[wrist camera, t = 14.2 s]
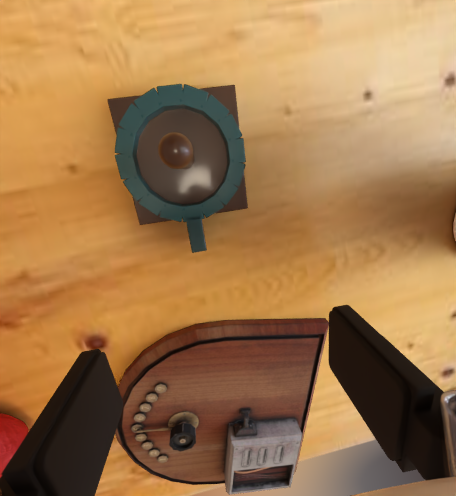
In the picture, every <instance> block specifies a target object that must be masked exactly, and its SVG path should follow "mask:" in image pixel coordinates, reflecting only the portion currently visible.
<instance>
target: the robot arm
mask: <svg viewBox="0 0 456 496" xmlns="http://www.w3.org/2000/svg"><path fill="white" fill-rule="evenodd" d="M453 232H454V238H455V241H456V213H455V218H454V223H453ZM329 365H330V368H331V370H332V372H333V373H334V375H335V376H336V378H337V379H338V381H339V383H340V384H341V386H342V387H343V389H344V390H345V392H346V393H347V395H348V396H349V398H350V400H351V401H352V403H353V404H354V406H355V407H356V409H357V410H358V412H359V413H360V415H361V417H362V418H363V420H364V421H365V423H366V424H367V426H368V427H369V429H370V430H371V432H372V434H373V435H374V437H375V438H376V440H377V441H378V443H379V444H380V446H381V447H382V449H383V450H384V452H385V454H386V455H387V456H388V458H389V459H390V460H392V461H396V463H397V464H398V466H399V467H400V469H401V470H402V472H406V471H411V470H416V469H417V470H418V472H419V473H420V474H421V476H422V477H423V478H424V479H425V480H426V481H421V482H416V483H410V484H405V485H400V486H395V487H390V488H385V489H379V490H375V491H370V492H365V493H360V494H356V495H351V496H456V390H449V391H446V392H443V391H442V390H441V389H440V388H439V387H438V386H437V385H436V384H434V383H433V382H432V381H431V380H430V379H429V378H428V377H427V376H426V375H425V374H424V373H422V372H421V371H420V370H419V369H418V368H417V367H416V366H415V365H414V364H413V363H412V362H411V361H409V360H408V359H407V358H406V357H405V356H404V355H403V354H402V353H401V352H400V351H399V350H397V349H396V348H395V347H394V346H393V345H392V344H391V343H390V342H389V341H388V340H387V339H385V338H384V337H383V336H382V335H380V334H379V333H378V332H377V331H376V330H375V329H374V328H373V327H372V326H371V325H370V324H368V323H367V322H366V321H365V320H364V319H363V318H362V317H361V316H360V315H359V314H358V313H357V312H355V311H354V310H353V309H352V308H351V307H350V306H349V305H343V306H338V307H334V308H333V309H332V311H330V313H329ZM122 410H123V400H122V397H121V395H120V392H119V389H118V387H117V384H116V381H115V379H114V376H113V373H112V370H111V368H110V365H109V362H108V360H107V357H106V354H105V353H104V352H101V351H100V350H99V349H95V350H90V351H84V352H82V353H81V354H80V355H79V357H78V358H77V360H76V361H75V363H74V364H73V366H72V367H71V369H70V370H69V372H68V373H67V375H66V376H65V378H64V379H63V381H62V382H61V384H60V385H59V387H58V388H57V390H56V391H55V393H54V394H53V396H52V397H51V399H50V401H49V402H48V404H47V405H46V407H45V408H44V410H43V411H42V413H41V414H40V416H39V417H38V419H37V420H36V422H35V423H34V425H33V426H32V428H31V429H30V431H29V432H28V434H27V435H26V437H25V438H24V440H23V441H22V443H21V444H20V446H19V448H18V449H17V451H16V452H15V454H14V455H13V457H12V458H11V460H10V461H9V463H8V464H7V466H6V467H5V469H4V470H3V472H2V473H1V474H2V476H1V478H0V496H95V493H96V490H97V487H98V484H99V481H100V477H101V474H102V471H103V468H104V465H105V462H106V459H107V456H108V453H109V450H110V447H111V444H112V441H113V438H114V435H115V432H116V429H117V426H118V423H119V420H120V417H121V414H122Z"/></svg>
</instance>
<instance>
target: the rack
mask: <svg viewBox="0 0 456 496" xmlns="http://www.w3.org/2000/svg"><path fill="white" fill-rule="evenodd" d="M200 90H203V91H206V92H208V97H209V96H210V95H213V96H214V97H215V98H216V99H217V100H218V101H219V102H220V103H221V104H222V105H224V106H225V107H226V108H227V109H228V110H229V113H228V115H229V114H232V115H233V117H234V119H235V122H236V124H237V126H238V128H239V121H238V111H237V102H236V93H235V85H229V86H220V87H211V88H202V89H200ZM141 96H142V95H141ZM139 97H140V96H132V97H124V98H115V99H108V104H109V108H110V112H111V115H112V119H113V123H114V127H115V131H116V135H117V129H118V127H119V128H122V127H121V126H120V125H119V123H120V121H121V119H122V118H123V116H124V114H125V113H126V111H127V109H128V108H129V106H130V104H131V103H132V104H133V105H135V103H134V100H136V99H137V98H139ZM207 99H208V98H207ZM135 106H136V105H135ZM136 107H137V106H136ZM228 115H227V116H228ZM122 129H124V128H122ZM239 139H240V138H239ZM136 156H137V160H138V164H139V169H140V173H141V176H142V177H143V178H144V180H145V181H146V183H147V184H148V186H149V187H150V189H151V190H152V191H154V192H155V193H156V194H158V195H159V196H161V197H162V198H164V199H165V200H167V201H171V202H175V203H179V204H190V203H197V202H200V201H202V200H204V199H205V198H207V197H209V196H210V195H212V194H214V192H215V191H216V190H217V188H218V187H219V185H220V184H221V183H222V181H223V180H224V176H225V172H226V168H227V164H228V159H227V151H226V144H225V142H224V140H223V138H222V136H221V134H220V133H219V131H218V129H217V127H216V126H215V125H214V124H212V123H211V122H210V121H209V120H208V119H207V118H206V117H204V116H203V115H202V114H199V113H196V112H193V111H190V110H186V109H176V110H167V111H164V112H162V113H161V114H159V115H158V116H156V117H154V118H153V119H151V120H150V121H149V122H148V124H147V125H146V127H145V129H144V130H143V132H142V133H141V135H140V137H139V141H138V148H137V155H136ZM242 164H243V163H242ZM235 186H236V185H235ZM236 187H238V190H237V191H236V193H235V194H234V195H233V197H232V198H231V199H230V201H229V202H228V203H227V205H224V204H223V203H222V202H221V203H222V204H223V206H224V207H223V208H222V209H220V210H219V211H217V212H215V213H220V212H227V211H233V210H240V209H246V208H248V206H247V196H246V187H245V178H244V172H243V176H242V180H241V183H240V186H236ZM133 200H134V204H135V208H136V212H137V215H138V219H139V223H140V225H143V224H150V223H156V222H163V221H169V220H170V219H166V218H162V217H160V214H159V215H158V216H157V215H155V214H154V213H152V212H151V211H149V210H148V209H146V208H145V207H143V206H142V205H140V204H139V201H140V200H141V199H140V200H138V201H136V200H135V199H134V197H133ZM160 213H161V212H160Z"/></svg>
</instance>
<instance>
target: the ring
mask: <svg viewBox="0 0 456 496" xmlns="http://www.w3.org/2000/svg"><path fill="white" fill-rule="evenodd" d="M157 91H158V93H157ZM157 91H156V90H155V88H153V89H151V90H150V91H148V92H147V93H145V94H144V95H142V96H140V97H139V98H137V99H136V100H134V103H135V105H136V106H137V107H136V106H135V105H133V104H132V103H131V104H130V106H129V108H128V109H127V111H126V113H125V114H124V116H123V118H122V119H121V121H120V123H119V125H120V126H121V127H122V128H124V129H122V128H119V127H118V129H117V137H116V145H115V153H119V154H118V155H115V158H116V162H117V166H118V169H119V173H120V177H121V179H126V180H124V181H123V183H124V185H125V186H126V187H127V189H128V190H129V192H130V193H131V194H132V196H133V197H134V199H135V200H136V201H138V200H140V199H141V200H140V201H139V204H140V205H142V206H143V207H145V208H146V209H148V210H149V211H151V212H152V213H154V214H155V215H157V216H158V215H159V214H160V217H162V218H166V219H170V220H175V221H179V222H181V221H182V218H183V222H186V223H187V228H188V233H189V239H190V244H191V249H192V253H194V252H200V251H206V250H207V249H206V242H205V236H204V230H203V225H202V219H204V215H205V217H206V218H207V217H209V216H210V215H212V214H214V213H215V212H217V211H219V210H220V209H222V208H223V207H224V206H223V204H224V205H227V203H228V202H229V201H230V199H231V198H232V197H233V195H234V194H235V193H236V191H237V190H238V187H236V186H240V183H241V180H242V176H243V172H244V169H245V164H242V163H243V162H246V160H245V150H244V140H243V138H241V139H239V138H240V137H241V136H242V134H241V132H240V130H239V128H238V126H237V124H236V122H235V119H234V117H233V115H232V114H229V115H228V113H229V110H228V109H227V108H226V107H225V106H224V105H222V104H221V103H220V102H219V101H218V100H217V99H216V98H215V97H214V96H213V95H210V96H209V97H208V92H206V91H203V90H200V89H197V88H194V87H191V86H188V85H185V84H184V88H182V84H176V85H167V86H158V87H157ZM207 98H208V99H207ZM176 109H186V110H190V111H193V112H196V113H199V114H202V115H203V116H204V117H206V118H207V119H208V120H209V121H210V122H211V123H212V124H214V125H215V126H216V127H217V129H218V131H219V133H220V134H221V136H222V138H223V140H224V142H225V144H226V151H227V159H228V164H227V168H226V172H225V176H224V180H223V181H222V183H221V184H220V185H219V187H218V188H217V190H216V191H215V192H214V194H212V195H210V196H209V197H207V198H205V199H204V200H202V201H200V202H197V203H190V204H179V203H175V202H171V201H167V200H165V199H164V198H162V197H161V196H159V195H158V194H156V193H155V192H154V191H152V190H151V189H150V187H149V186H148V184H147V183H146V181H145V180H144V178H143V177H142V176H141V173H140V169H139V164H138V160H137V156H136V155H137V148H138V141H139V137H140V135H141V133H142V132H143V130H144V129H145V127H146V125H147V124H148V122H149V121H150V120H151V119H153V118H154V117H156V116H158V115H159V114H161V113H162V112H164V111H167V110H176ZM227 115H228V116H227ZM235 185H236V186H235ZM221 202H222V203H223V204H222V203H221ZM160 212H161V213H160Z"/></svg>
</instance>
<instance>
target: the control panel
mask: <svg viewBox="0 0 456 496" xmlns="http://www.w3.org/2000/svg"><path fill="white" fill-rule="evenodd" d="M328 326H329V322H328V321H327V320H326V319H325V318H315V319H263V320H224V321H216V322H209V323H201V324H195V325H192V326H190V327H187V328H184V329H182V330H179V331H176V332H173V333H171V334H168V335H166V336H165V337H163V338H162V339H160V340H159V341H157V342H156V343H154V344H153V345H151V346H150V347H148V348H147V349H145V350H144V351H143V352H142V353H141V354H140V355H139V356H138V357H137V358H136V360H135V361H134V362H133V363H132V364H131V365H130V366H129V367H128V369H127V370H126V371H125V373H124V375H123V378H122V380H121V382H120V384H119V386H118V389H119V392H120V395H121V397H122V400H123V410H122V414H121V417H120V420H119V423H118V426H117V429H116V432H115V434H116V437H117V440H118V442H119V443H120V445H121V446H122V447H123V448H124V450H125V451H126V452H127V454H128V455H129V456H130V458H131V459H132V460H133V461H134V462H135V463H137V464H138V465H139V466H141V467H142V468H144V469H145V470H147V471H148V472H149V473H151V474H153V475H156V476H159V477H161V478H164V479H167V480H169V481H173V482H179V483H186V484H192V485H197V484H220V483H225V486H226V492H227V493H228V494H237V493H246V492H254V491H262V490H270V489H278V488H286V487H291V483H292V478H293V475H294V473H295V472H296V468H297V463H298V459H299V455H300V450H301V446H302V441H303V437H304V432H305V428H306V424H307V419H308V415H309V410H310V406H311V401H312V397H313V393H314V388H315V384H316V379H317V375H318V370H319V366H320V362H321V357H322V353H323V348H324V344H325V339H326V335H327V331H328Z"/></svg>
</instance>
